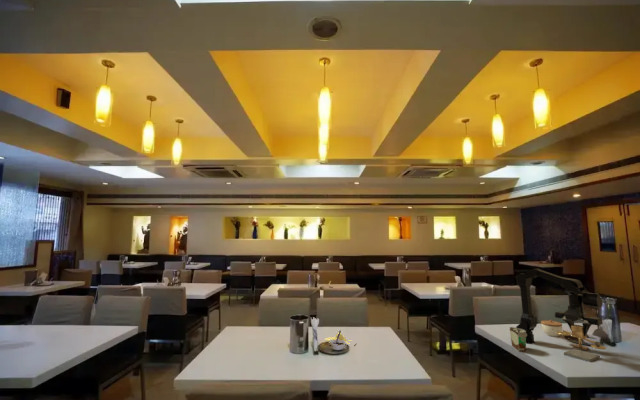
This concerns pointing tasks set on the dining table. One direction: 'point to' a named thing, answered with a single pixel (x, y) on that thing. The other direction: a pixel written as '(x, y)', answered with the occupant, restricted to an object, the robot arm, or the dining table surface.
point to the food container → (518, 339)
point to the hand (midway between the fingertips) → (579, 335)
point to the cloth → (339, 338)
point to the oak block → (578, 331)
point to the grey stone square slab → (582, 355)
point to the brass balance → (597, 344)
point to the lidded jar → (551, 328)
